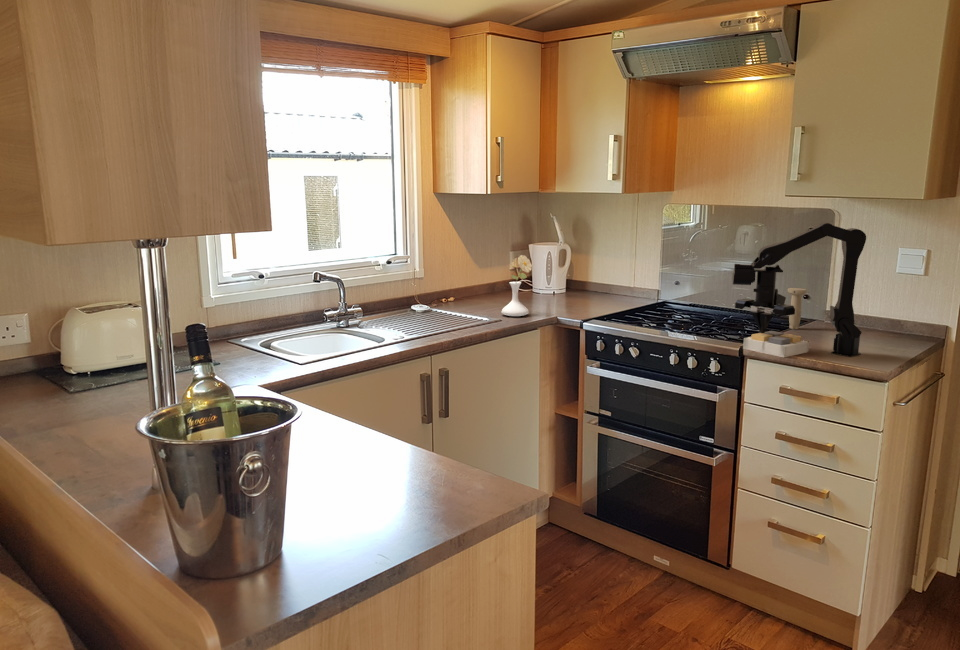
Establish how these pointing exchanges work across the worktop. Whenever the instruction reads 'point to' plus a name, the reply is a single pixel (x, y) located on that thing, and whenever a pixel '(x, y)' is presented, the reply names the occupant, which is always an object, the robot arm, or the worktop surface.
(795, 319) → the handle
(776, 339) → the charcoal key near
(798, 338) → the ochre key
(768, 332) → the charcoal key far
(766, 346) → the keypad
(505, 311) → the flower in vase
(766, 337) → the ochre key
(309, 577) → the worktop surface
